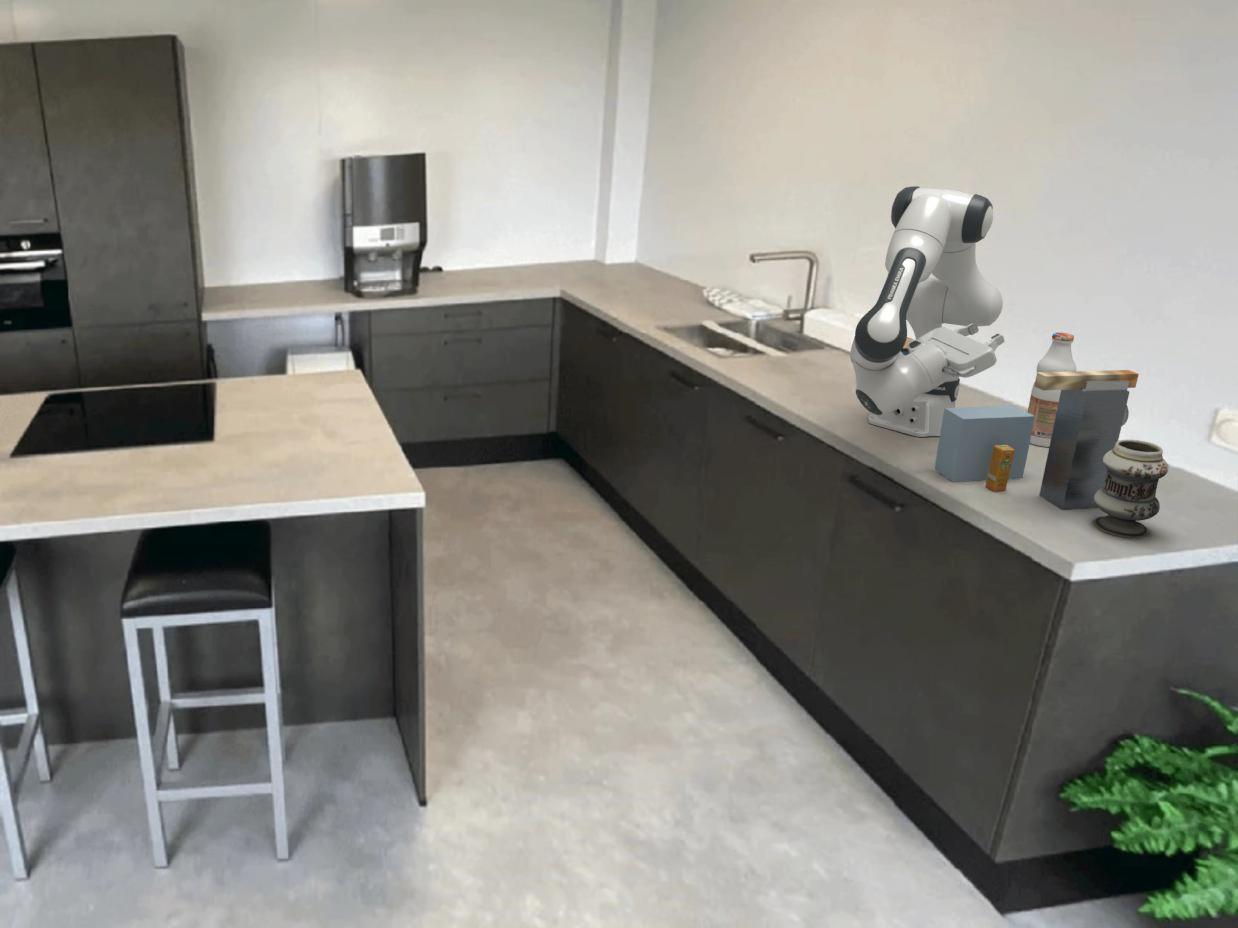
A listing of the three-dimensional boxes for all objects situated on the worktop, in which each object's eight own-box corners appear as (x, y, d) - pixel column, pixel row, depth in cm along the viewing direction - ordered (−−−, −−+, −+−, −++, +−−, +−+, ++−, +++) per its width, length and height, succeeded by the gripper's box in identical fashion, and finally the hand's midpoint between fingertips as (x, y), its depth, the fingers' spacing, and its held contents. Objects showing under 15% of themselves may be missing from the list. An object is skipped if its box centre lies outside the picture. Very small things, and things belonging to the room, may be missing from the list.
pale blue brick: (952, 481, 224) (963, 419, 218) (934, 469, 231) (944, 408, 225) (1022, 478, 227) (1035, 416, 222) (1002, 465, 235) (1014, 405, 229)
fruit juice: (1014, 437, 255) (1034, 330, 245) (1043, 434, 258) (1064, 329, 249) (1040, 449, 247) (1062, 340, 237) (1069, 446, 250) (1093, 338, 240)
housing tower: (1062, 509, 211) (1089, 383, 201) (1039, 495, 218) (1064, 372, 208) (1110, 506, 213) (1140, 382, 203) (1086, 492, 221) (1113, 371, 211)
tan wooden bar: (1043, 390, 202) (1046, 376, 201) (1034, 386, 204) (1037, 372, 203) (1135, 387, 207) (1138, 373, 206) (1125, 383, 209) (1128, 370, 208)
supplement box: (994, 492, 219) (1002, 449, 215) (984, 486, 222) (992, 444, 218) (1007, 491, 219) (1015, 449, 216) (997, 485, 223) (1005, 443, 219)
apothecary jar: (1113, 512, 211) (1132, 432, 204) (1166, 534, 201) (1187, 451, 194) (1075, 521, 205) (1094, 439, 199) (1127, 544, 195) (1148, 459, 189)
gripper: (953, 365, 194) (1013, 330, 194) (903, 341, 213) (958, 309, 213) (963, 392, 197) (1022, 357, 197) (912, 365, 215) (967, 333, 216)
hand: (988, 332), depth 205 cm, fingers open, 8 cm apart
